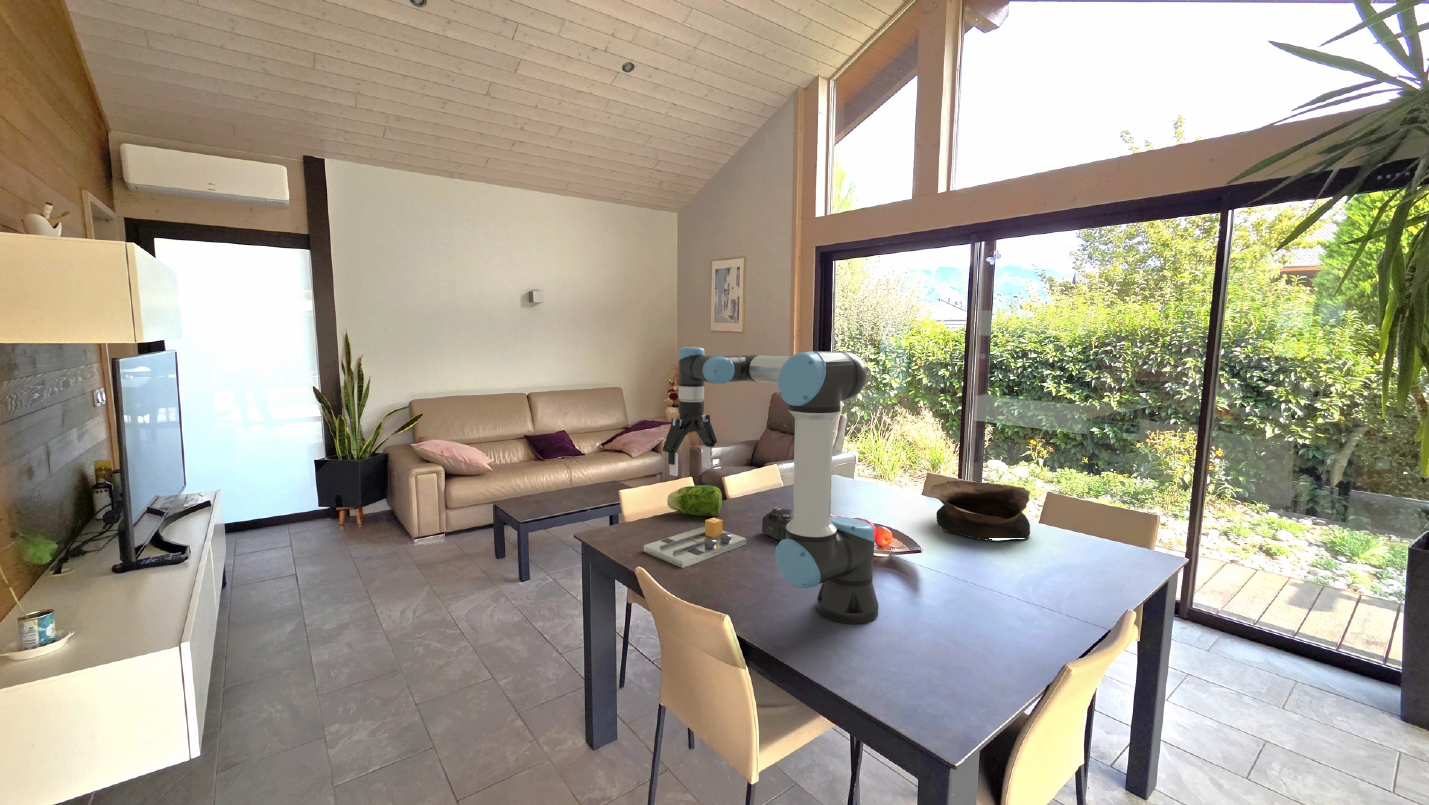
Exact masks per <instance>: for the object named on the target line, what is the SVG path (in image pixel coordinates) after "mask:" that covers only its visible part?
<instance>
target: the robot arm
mask: <svg viewBox="0 0 1429 805" xmlns="http://www.w3.org/2000/svg"><path fill="white" fill-rule="evenodd" d="M678 352H679V353H678V359H677V362H678V363H677V365H678V369H677V370H678V399H679V400H678V406H677V407H678V408H677V410H678V411H677V412H678V415H679V418H671V421H670V426H669V427H670V428H669V430H668V432H667V435H666V439H665V441H664V444H663V447H662V452H664V453H667V457H668V458H667V460H668V465H669V476H673V477H678V476H679V453H677V451H678V450H679V448H680V446H681V444H682V442H683V441H684V439H685V437H686V436H687V435H688V434H689V433H693V432H695V433H696V434H697V435H698V437H699V439H700V440H701V442H702V443H703V444H704V445H702V451H701V452H702V454H701V455H702V456H701V457H702V460H701V462H702V464H701V467H702V468H705V469H711V459H712V458H711V457H712V452H713V451H712V450H713V449H712V448H714V447H715V445H716V444H717V443H718V440H717V437H716V434H715V431H714V429H713V426H712V423H711V416H710V414H705V402H704V401H703V400H705V383H710V384H713V385H725V384H728V383H736V382H737V383H738V382H751V383H752V382H755V383H766V384H776V385H778V386H777V387H778V391H779V394H781V398H782V400H783V401H785V402H786V403H787V404H788V412H789V413H790V414H791V415H792V417H794V447H793V448H794V450H793V451H794V452H793V457H794V458H793V492H792V493H793V496H792V498H793V501H792V502H793V503H792V504H793V506H792V518H793V520H792V521H790V522H789V523H788V524H787V526H786V539H783V540H782V541H781V540H780V541H779V543H778V544H777V545H776V548H775V552H774V554H775V557H774V558H775V563H776V566H777V569H778V571H779V572H780V573H781V575H782V578H784V580H785V581H786V582H787V583H788V584H790V585H791V586H793V587H795V588H797V589H807V588H813V587H817V586H818V585H820V584H821V586H820V589H819V591H818V594H817V596H816V610H817V612H818V613H819V614H820V615H822V616H823V617H825V618H827V619H829V620H831V621H834V622H836V623H837V622H838V623H843V624H850V625H851V624H852V625H856V624H857V625H858V624H859V623H861V624H866V623H870V622H872V621H874V620H875V619H877V618H878V617H879V616H878V615H879V608H880V607H879V602H878V598H877V595H876V591H875V587H874V584H873V574H874V559H875V558H874V555H875V554H874V553H875V543H876V539H875V529H874V527H873V525H872V524H870V523H869V522H867V521H865V520H862V519H858V518H852V517H847V516H831V512H832V511H831V506H832V477H833V476H832V474H833V472H832V470H833V444H834V443H833V440H834V439H833V438H834V437H833V436H834V435H833V434H834V419H835V418H836V417H837V416H838V415H839V414H840V413H841V402H844V401H848V400H851V399H853V398H855V397H857V396H858V395H859V394H860V393H861V392H862V390H864V388H865V385H866V383H867V378H868V372H867V368H866V365H865V363H864V362H863V360H862V359H861V358H860V357H859V356H857V355H856V354H854V353H852V352H849V351H845V350H844V351H842V350H836V351H834V350H833V351H831V350H830V351H813V350H811V351H803V352H798V353H794V354H793V355H790V356H779V355H778V356H777V355H776V356H775V355H761V354H743V355H742V354H737V355H706V354H705V348H703V347H696V346H691V347H690V346H683V347H681V348H680V349H679V350H678Z"/></svg>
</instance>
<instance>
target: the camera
mask: <svg viewBox="0 0 1429 805" xmlns="http://www.w3.org/2000/svg"><path fill="white" fill-rule="evenodd" d="M792 513H793V510H792V509H791V508H788V507H783V506H781V507H779V506H776V507H773V509H772V510H771V511H769V512H768V513H766V514H765V515H764V516H763V517H762V523H761V531H762V533H763V534H764V535H766V536H768V537H771V538H774V539H776V540H778V541H780V542H781V541H782V540H783V539H786V526H787V524H788V523H789V522H790V521H792V520H793V517H792V516H791V515H792Z"/></svg>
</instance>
